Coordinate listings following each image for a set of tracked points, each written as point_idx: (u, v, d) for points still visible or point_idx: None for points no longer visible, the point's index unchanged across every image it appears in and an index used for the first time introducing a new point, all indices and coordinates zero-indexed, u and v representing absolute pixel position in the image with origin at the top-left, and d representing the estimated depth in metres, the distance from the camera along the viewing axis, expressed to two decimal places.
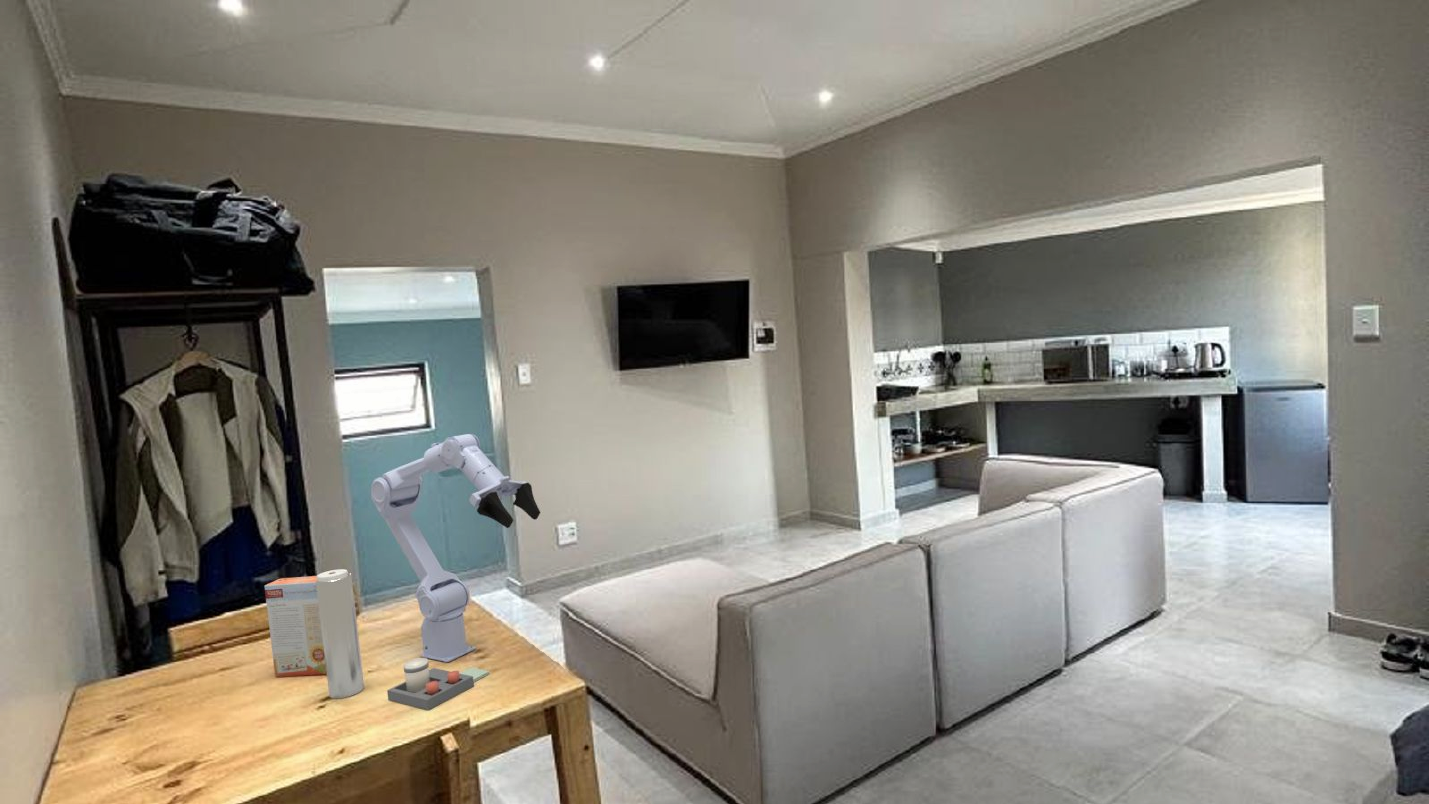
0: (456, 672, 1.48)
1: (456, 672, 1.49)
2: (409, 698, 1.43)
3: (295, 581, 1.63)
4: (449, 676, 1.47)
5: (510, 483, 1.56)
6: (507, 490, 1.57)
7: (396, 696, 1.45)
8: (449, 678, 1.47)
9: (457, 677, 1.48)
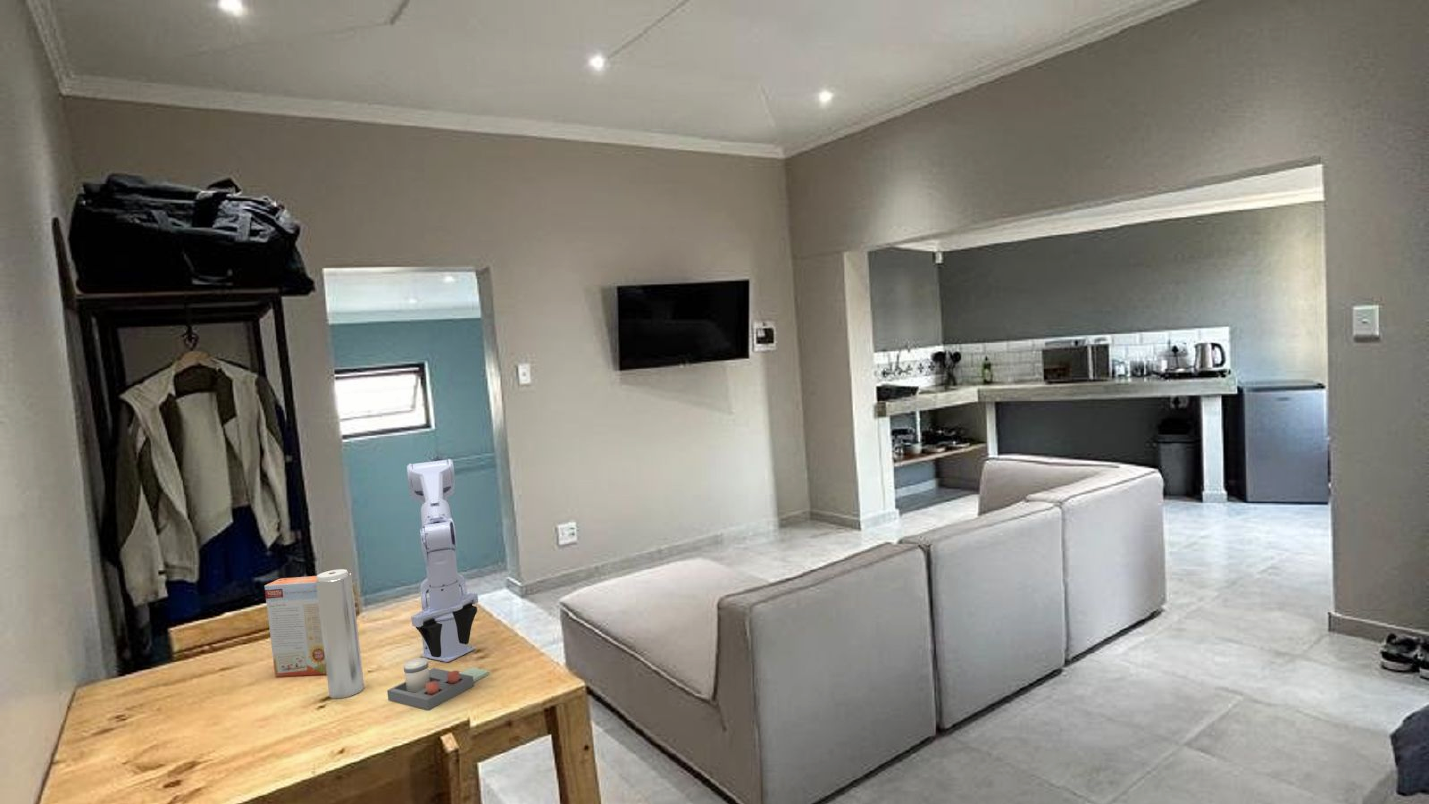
0: (456, 672, 1.48)
1: (456, 672, 1.49)
2: (409, 698, 1.43)
3: (295, 581, 1.63)
4: (449, 676, 1.47)
5: None
6: None
7: (396, 696, 1.45)
8: (449, 678, 1.47)
9: (457, 677, 1.48)
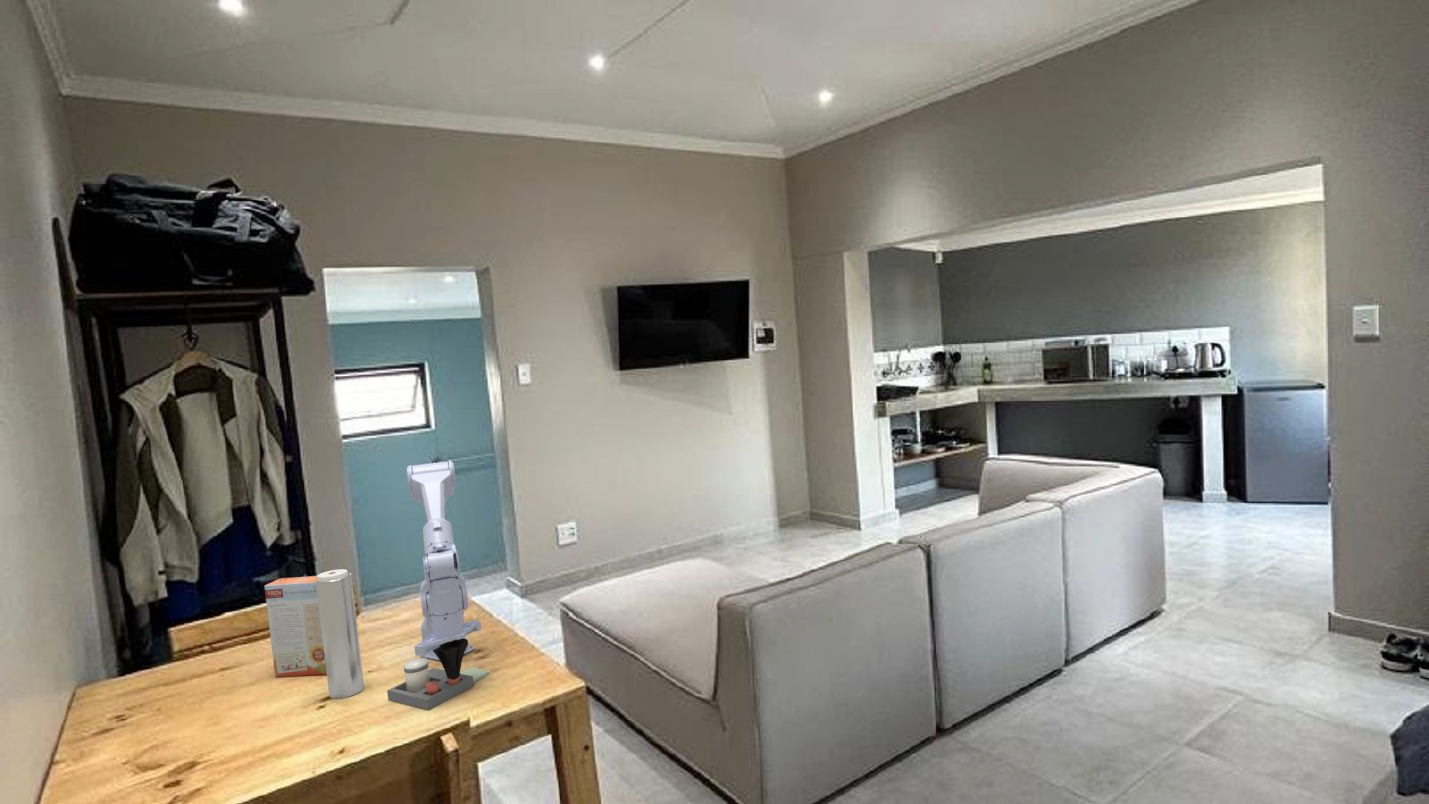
0: None
1: None
2: (409, 698, 1.43)
3: (295, 581, 1.63)
4: (449, 680, 1.47)
5: None
6: None
7: (396, 696, 1.45)
8: (449, 682, 1.47)
9: (457, 681, 1.48)
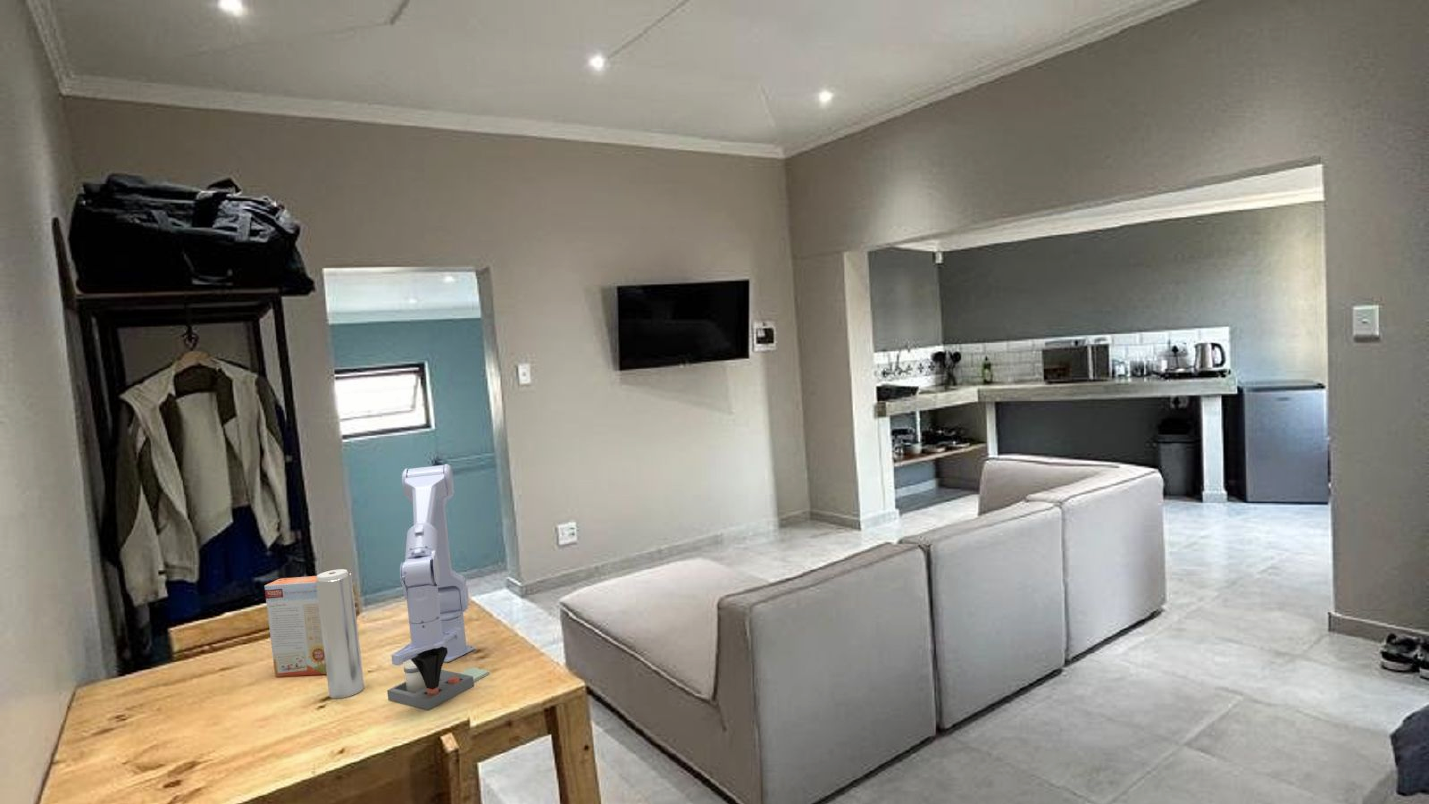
0: (457, 677, 1.48)
1: (457, 677, 1.49)
2: (409, 698, 1.43)
3: (295, 581, 1.63)
4: (450, 682, 1.47)
5: None
6: None
7: (396, 696, 1.45)
8: None
9: None
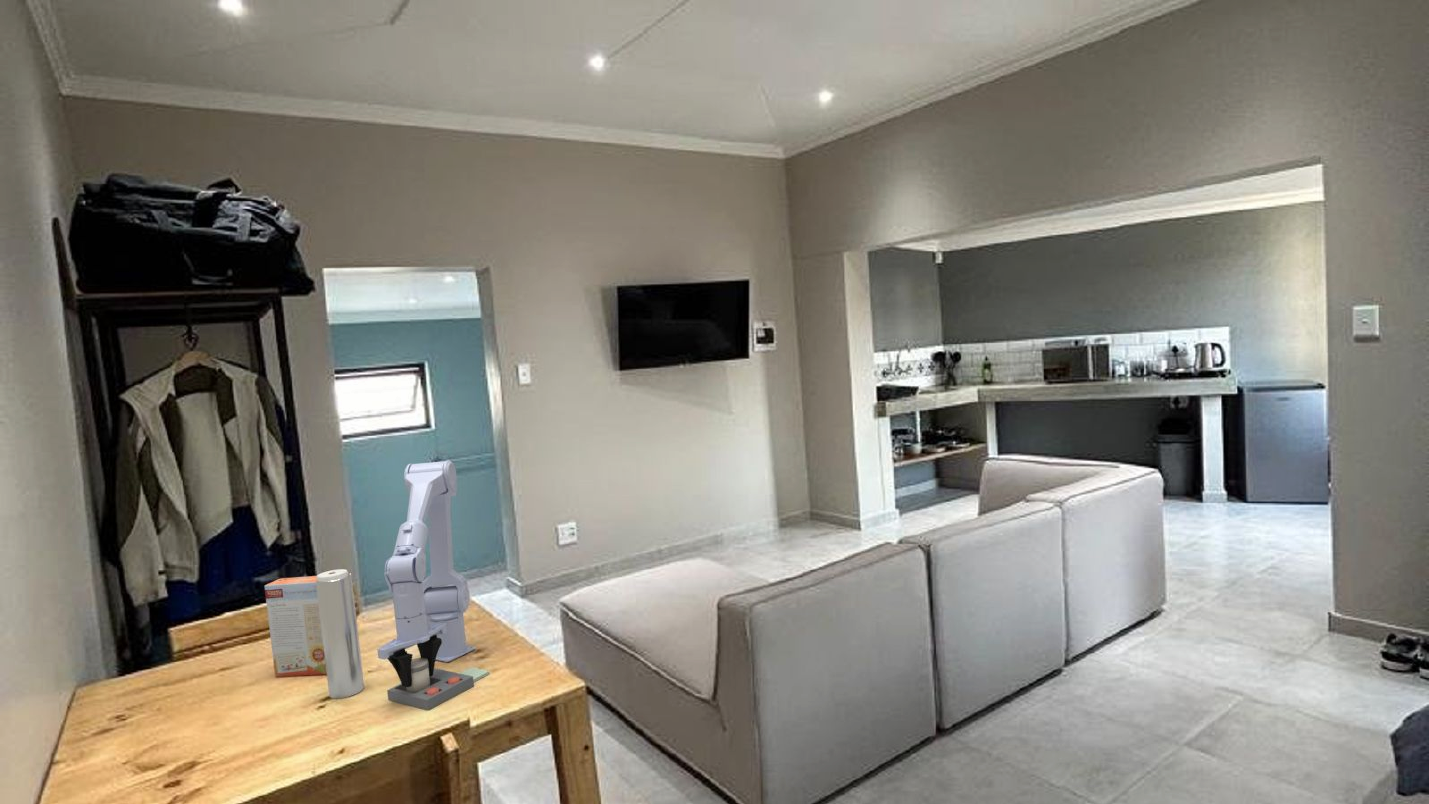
0: (457, 677, 1.48)
1: (457, 677, 1.49)
2: (409, 698, 1.43)
3: (295, 581, 1.63)
4: (450, 682, 1.47)
5: None
6: None
7: (396, 696, 1.45)
8: None
9: None
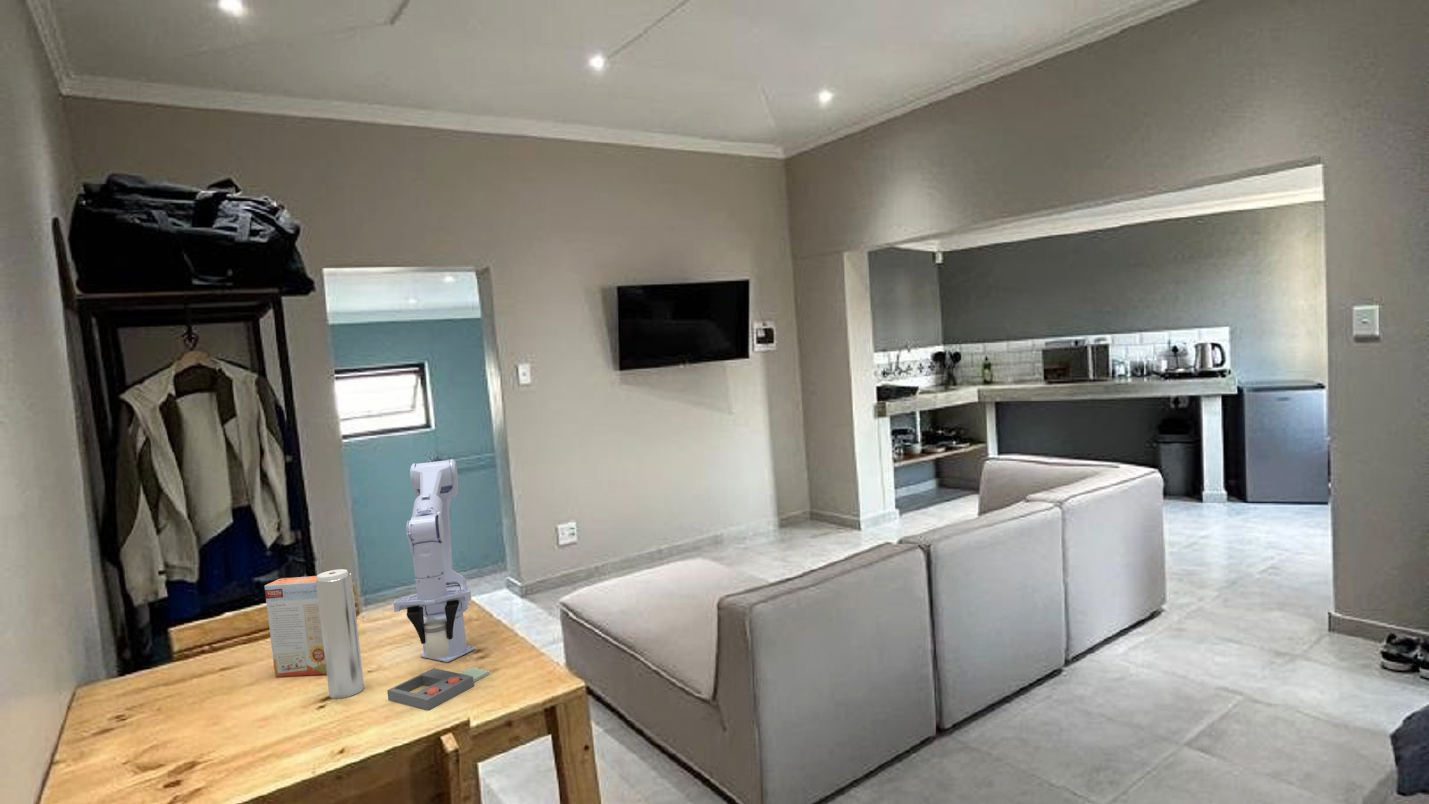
0: (457, 677, 1.48)
1: (457, 677, 1.49)
2: (409, 698, 1.43)
3: (295, 581, 1.63)
4: (450, 682, 1.47)
5: None
6: None
7: (396, 696, 1.45)
8: None
9: None
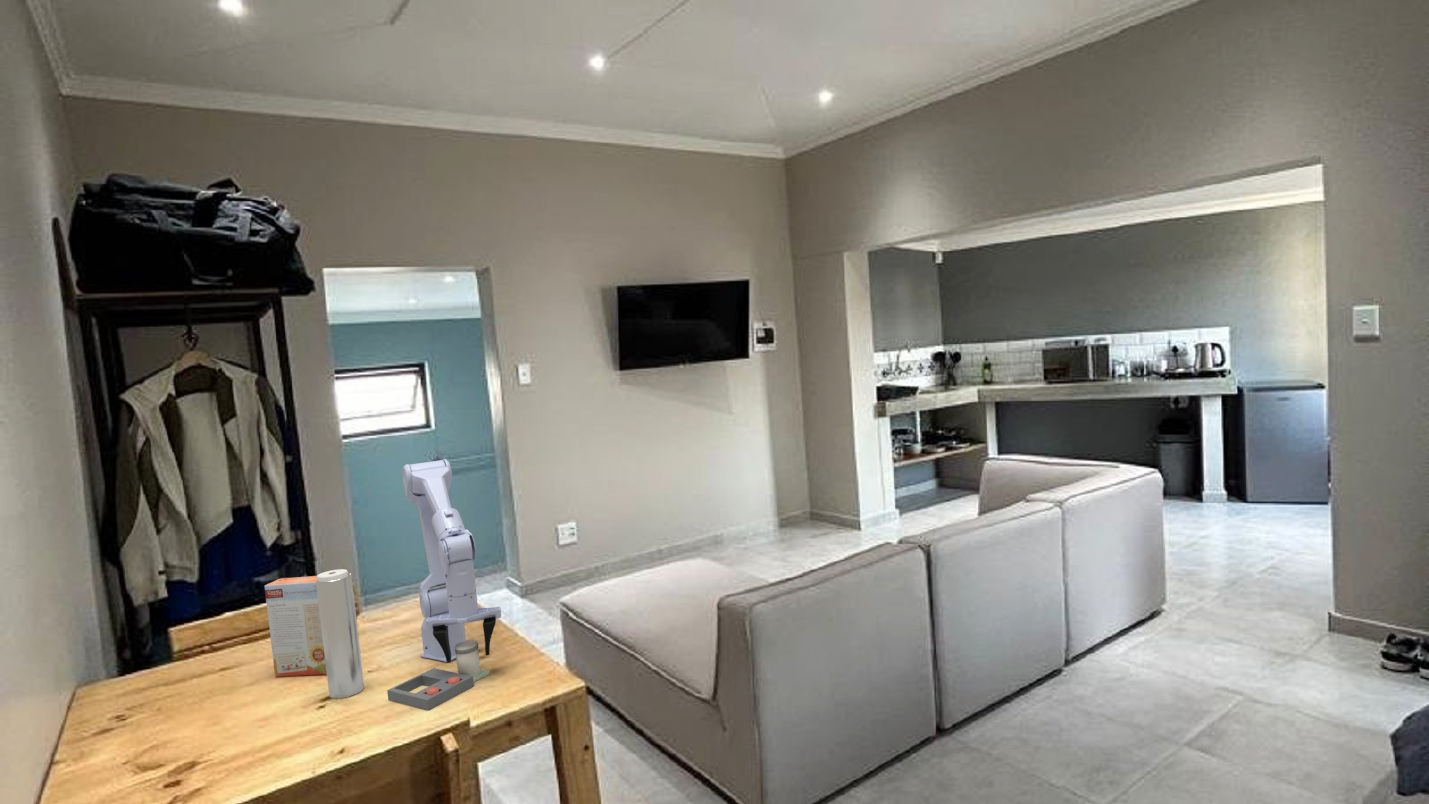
0: (457, 677, 1.48)
1: (457, 677, 1.49)
2: (409, 698, 1.43)
3: (295, 581, 1.63)
4: (450, 682, 1.47)
5: None
6: None
7: (396, 696, 1.45)
8: None
9: None
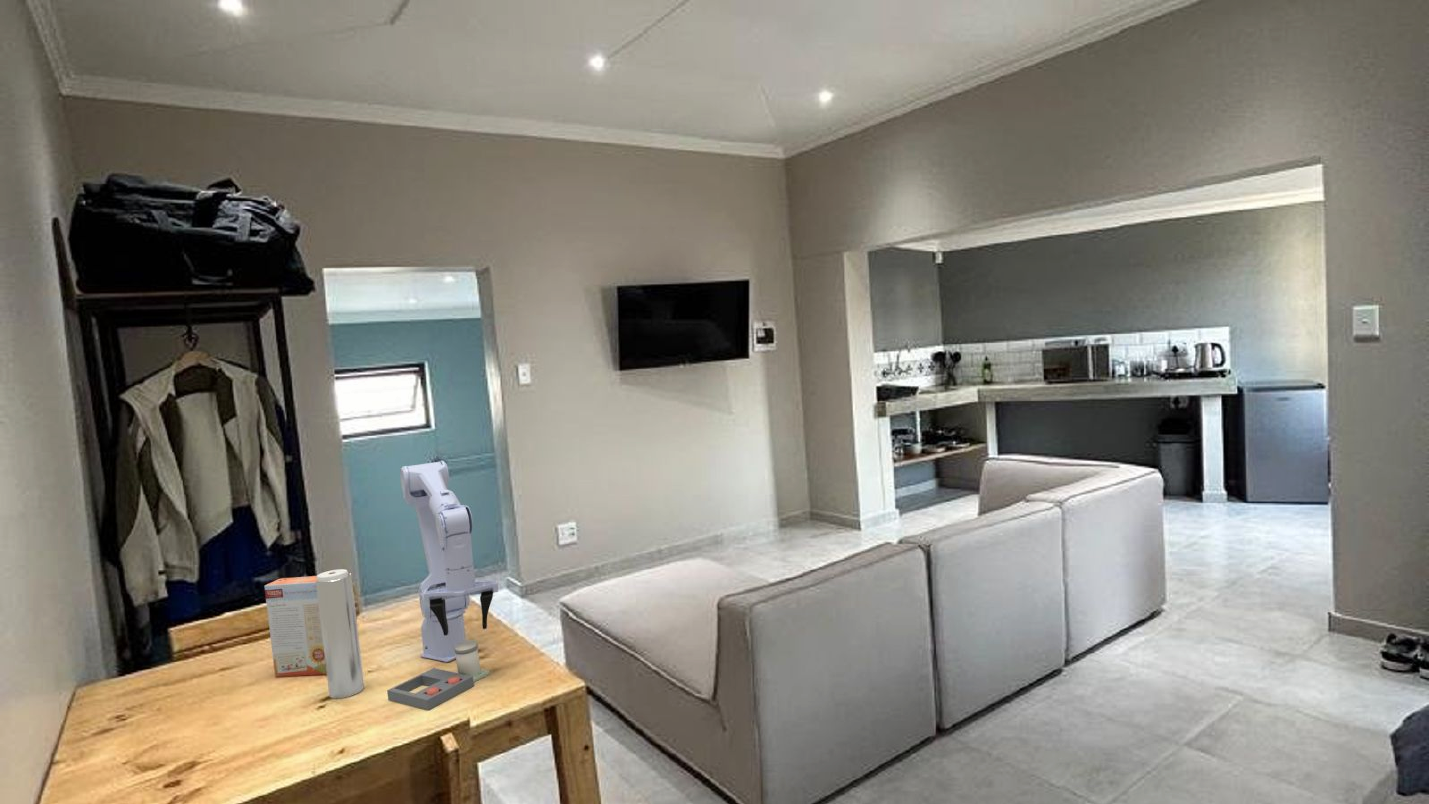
0: (457, 677, 1.48)
1: (457, 677, 1.49)
2: (409, 698, 1.43)
3: (295, 581, 1.63)
4: (450, 682, 1.47)
5: None
6: None
7: (396, 696, 1.45)
8: None
9: None
